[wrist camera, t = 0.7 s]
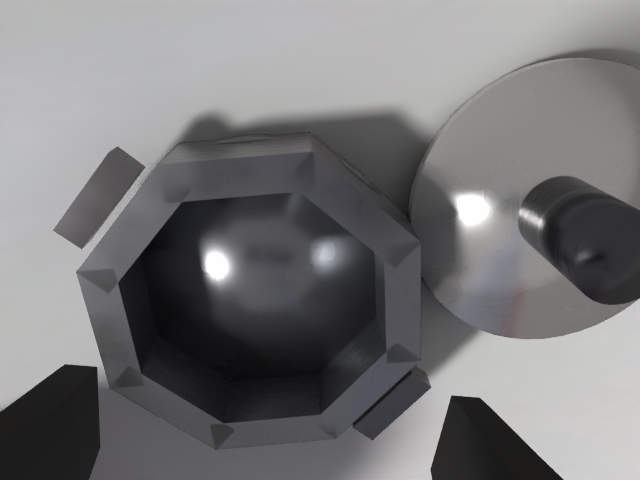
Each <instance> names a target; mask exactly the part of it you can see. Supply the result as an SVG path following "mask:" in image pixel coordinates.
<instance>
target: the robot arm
mask: <svg viewBox="0 0 640 480" xmlns="http://www.w3.org/2000/svg"><path fill="white" fill-rule="evenodd" d="M99 449H100V431H99V405H98V378H97V367H91V366H78V365H66V364H65V365H64V366H62V367H61V368H59V369H58V370H57V371H55V372H54V373H53V374H51V375H50V376H48V377H47V378H46V379H44V380H43V381H42V382H40V383H39V384H38V385H36V386H35V387H34V388H32V389H31V390H30V391H28V392H27V393H26V394H24V395H23V396H22V397H20V398H19V399H17V400H16V401H15V402H13V403H12V404H11V405H9V406H8V407H7V408H5V409H4V410H3V411H1V412H0V480H89V478H90V475H91V472H92V469H93V466H94V463H95V461H96V458H97V455H98V452H99ZM431 474H432V480H563V479H562V478H561V477H560V476H559V475H558V474H557V473H556V472H555V471H554V470H553V469H552V468H551V467H550V466H549V465H548V464H547V463H546V462H545V461H544V460H543V459H542V458H541V457H540V456H538V455H537V454H536V453H535V452H534V451H533V450H532V449H531V448H530V447H529V446H528V445H527V444H526V443H525V442H524V441H523V440H522V439H521V438H520V437H519V436H518V435H517V434H516V433H515V432H514V431H513V430H512V429H511V428H510V427H509V426H508V425H507V424H506V423H505V422H504V421H503V420H502V419H501V418H500V417H499V416H498V415H497V414H496V413H495V412H494V411H493V410H492V409H491V408H490V407H489V406H488V405H487V404H486V403H485V402H484V401H483V400H482V399H480V398H475V397H463V396H451V399H450V403H449V407H448V410H447V414H446V417H445V421H444V424H443V428H442V431H441V435H440V438H439V442H438V445H437V449H436V452H435V456H434V460H433V463H432V467H431Z"/></svg>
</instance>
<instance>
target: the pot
mask: <svg viewBox="0 0 640 480" xmlns="http://www.w3.org/2000/svg"><path fill="white" fill-rule="evenodd" d="M144 168H145V166H144V165H142V164H141V163H139V162H138V161H137V160H135V159H134V158H133V157H131V156H130V155H129V154H127V153H126V152H125V151H123V150H122V149H120V148H119V147H116V148H115V149H113V150H112V151H110V152H109V153H108V154H107V156H106V157H105V159H104V160H103V161H102V163H101V164H100V165H99V167H98V168H97V170H96V171H95V172H94V174H93V175H92V177H91V178H90V179H89V181H88V182H87V184H86V185H85V186H84V188H83V189H82V191H81V192H80V193H79V195H78V196H77V198H76V199H75V200H74V202H73V203H72V205H71V206H70V207H69V209H68V210H67V212H66V213H65V214H64V216H63V217H62V219H61V220H60V221H59V223H58V224H57V226H56V227H55V228H54V230H53V231H55V232H56V233H58V234H59V235H61V236H62V237H64V238H66V239H67V240H69V241H70V242H72V243H73V244H75V245H76V246H78V247H79V248H81V249H82V248H83V247H84V246H85V245H86V244H87V243H88V242H89V241H90V240H91V239H92V238H93V236H94V235H95V234H96V232H97V231H98V230H99V228H100V227H101V226H102V224H103V223H104V222H105V220H106V219H107V218H108V216H109V215H110V214H111V212H112V211H113V210H114V208H115V207H116V206H117V204H118V203H119V202H120V200H121V199H122V198H123V196H124V195H125V194H126V192H127V191H128V189H129V188H130V187H131V185H132V184H133V183H134V181H135V180H136V179H137V177H138V176H139V175H140V173H141V172H142V171H143V169H144ZM76 273H77V276H78V280H79V283H80V286H81V290H82V293H83V297H84V300H85V304H86V307H87V311H88V314H89V318H90V321H91V324H92V328H93V331H94V335H95V338H96V342H97V345H98V349H99V352H100V356H101V359H102V362H103V366H104V369H105V373H106V376H107V380H108V383H109V387H110V389H112V390H114V391H116V392H117V393H119V394H121V395H122V396H124V397H126V398H128V399H129V400H131V401H133V402H134V403H136V404H138V405H140V406H141V407H143V408H145V409H147V410H148V411H150V412H152V413H153V414H155V415H157V416H159V417H160V418H162V419H164V420H165V421H167V422H169V423H171V424H172V425H174V426H176V427H178V428H179V429H181V430H183V431H184V432H186V433H188V434H190V435H191V436H193V437H195V438H196V439H198V440H200V441H202V442H203V443H205V444H207V445H208V446H210V447H212V448H214V449H215V450H217V449H228V448H238V447H249V446H260V445H271V444H282V443H293V442H304V441H315V440H326V439H336V438H337V437H338V436H339V435H340V434H341V433H342V432H344V431H345V430H346V429H347V428H348V427H349V426H350V425H351V424H352V423H353V428H355V429H356V430H358V431H359V432H361V433H362V434H364V435H365V436H367V437H368V438H370V439H371V440H373V439H374V438H375V437H376V436H378V435H379V434H380V433H381V432H382V431H383V430H384V429H385V428H387V427H388V426H389V425H390V424H391V423H392V422H393V421H394V420H395V419H397V418H398V417H399V416H400V415H401V414H402V413H403V412H404V411H405V410H407V409H408V408H409V407H410V406H411V405H412V404H413V403H414V402H416V401H417V400H418V399H419V398H420V397H421V396H422V395H423V394H424V393H426V392H427V391H428V390H429V389H430V388H431V385H430V383H429V380H428V377H427V375H426V373H424V372H423V371H422V370H420V369H419V368H418V367H416V366H415V365H416V364H417V363H418V362H419V361H421V241H420V239H419V238H418V236H417V234H416V233H415V231H414V229H413V228H412V226H411V224H410V222H409V221H408V219H407V217H406V216H405V214H404V212H403V211H402V210H400V209H399V208H398V207H397V206H396V205H395V204H393V203H392V202H391V201H390V200H389V199H388V198H386V197H385V196H384V195H383V194H382V193H380V192H379V191H378V190H377V189H376V187H375V186H374V185H373V184H372V183H371V182H370V181H369V180H368V179H367V178H366V177H365V176H364V175H363V174H362V173H361V172H360V171H359V170H357V169H356V168H355V167H353V166H352V165H351V164H349V163H348V162H347V161H345V160H344V159H342V158H340V157H339V156H337V155H336V154H335V153H333V152H332V151H331V150H330V149H329V148H328V147H326V146H325V145H324V144H323V143H322V142H320V141H319V140H318V139H317V138H316V137H315V136H313V135H312V134H311V133H310V132H308V133H296V134H284V135H241V136H234V137H228V138H222V139H219V140H213V141H201V142H189V143H179V144H178V145H177V146H176V147H174V148H173V149H172V150H171V151H170V152H169V153H168V154H167V155H166V156H165V157H164V158H163V159H162V160H161V161H160V162H159V163H158V164H157V166H156V168H155V169H154V170H153V172H152V173H151V174H150V176H149V177H148V178H147V180H146V181H145V182H144V183H143V185H142V186H141V187H140V189H139V190H138V191H137V193H136V194H135V195H134V197H133V198H132V199H131V201H130V202H129V203H128V205H127V206H126V207H125V209H124V210H123V211H122V213H121V214H120V215H119V217H118V218H117V219H116V221H115V222H114V223H113V225H112V226H111V227H110V228H109V230H108V231H107V232H106V234H105V235H104V236H103V238H102V239H101V240H100V242H99V243H98V244H97V246H96V247H95V248H94V250H93V251H92V252H91V254H90V255H89V256H88V258H87V259H86V260H85V262H84V263H83V264H82V266H81V267H80V268H79V269H78V270H77V271H76Z"/></svg>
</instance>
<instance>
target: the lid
mask: <svg viewBox="0 0 640 480" xmlns="http://www.w3.org/2000/svg"><path fill="white" fill-rule="evenodd" d="M408 221H409V222H410V224H411V226H412V228H413V229H414V231H415V233H416V234H417V236H418V238H419V239H420V241H421V275H422V277H423V279H424V280H425V282H426V284H427V286H428V287H429V289H430V291H431V292H432V293H433V294H434V296H435V297H436V298H437V299H438V301H439V302H440V303H441V304H442V305H443V306H444V307H445V308H446V309H447V310H449V311H450V312H451V313H452V314H453V315H455V316H456V317H458V318H459V319H461V320H462V321H463V322H465V323H467V324H469V325H471V326H473V327H475V328H477V329H479V330H482V331H485V332H488V333H491V334H494V335H499V336H504V337H509V338H519V339H544V338H551V337H557V336H563V335H567V334H570V333H574V332H578V331H581V330H584V329H586V328H589V327H592V326H594V325H597V324H599V323H601V322H603V321H605V320H607V319H609V318H611V317H613V316H614V315H616V314H618V313H619V312H621V311H622V310H624V309H626V308H627V307H629V306H630V305H631V304H633V303H634V302H635V301H637V300H638V299H639V298H640V70H639V69H637V68H635V67H632V66H629V65H625V64H622V63H619V62H615V61H608V60H600V59H592V58H562V59H556V60H549V61H543V62H540V63H536V64H533V65H529V66H526V67H523V68H520V69H518V70H516V71H513V72H511V73H509V74H506V75H504V76H502V77H500V78H499V79H497V80H495V81H494V82H492V83H490V84H489V85H487V86H485V87H484V88H482V89H481V90H480V91H478V92H477V93H476V94H474V95H473V96H472V97H470V98H469V99H468V100H467V101H466V102H464V103H463V104H462V105H461V106H460V107H459V108H458V109H457V110H456V111H455V112H454V113H453V114H452V115H451V116H450V117H449V119H448V120H447V121H446V122H445V124H444V125H443V126H442V127H441V128H440V130H439V131H438V132H437V134H436V135H435V137H434V139H433V140H432V142H431V143H430V145H429V146H428V148H427V150H426V152H425V154H424V156H423V158H422V160H421V162H420V164H419V166H418V169H417V172H416V175H415V178H414V181H413V184H412V189H411V194H410V199H409V206H408Z"/></svg>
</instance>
